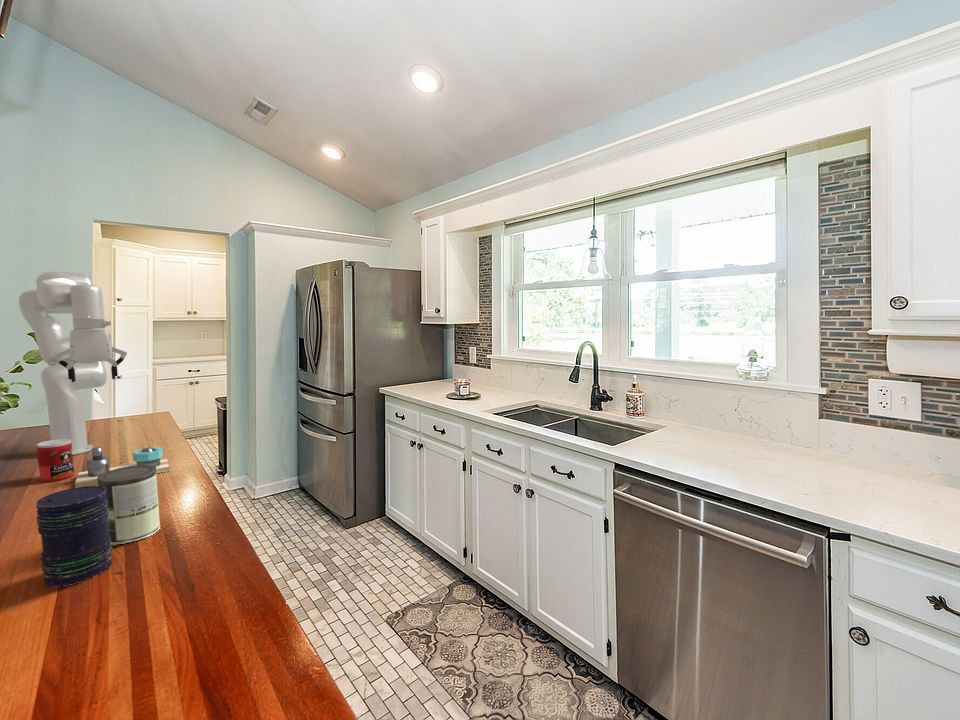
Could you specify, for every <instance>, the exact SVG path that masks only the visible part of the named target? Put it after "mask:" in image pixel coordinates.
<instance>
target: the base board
mask: <svg viewBox="0 0 960 720" xmlns="http://www.w3.org/2000/svg"><path fill="white" fill-rule="evenodd" d="M136 465H137V463H131V464H124V465H119V466H118V465H117V466H111V467H110V471H111V470H114V469H118V468H123V467H128V466H136ZM156 469H157V471H156V473H160V474H162V473H161V472H166V473H168V472H167V471H169V472H170V465H169V461H168V458H162V459H161V458H160V465H159V466H157V467H156ZM97 477H98V476H97ZM97 477H89V476H88V470H86V471H81V472H80V471H79V472H78V474H77V477H76V479H75V482H74V485H75V487H74V488H78V487H87V486H98V481H97Z"/></svg>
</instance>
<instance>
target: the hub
mask: <svg viewBox="0 0 960 720" xmlns="http://www.w3.org/2000/svg"><path fill="white" fill-rule="evenodd" d="M141 449H142V453H147V452H152V451H153V447H145V448H141ZM160 460H161V458H159V459H155V460H151V461H144V462H136V461H135V462H136V463H137V465H151V466H155V467H157V466H159V465H160ZM136 463H135V464H136Z"/></svg>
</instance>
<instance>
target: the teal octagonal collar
mask: <svg viewBox="0 0 960 720" xmlns="http://www.w3.org/2000/svg"><path fill="white" fill-rule="evenodd" d="M152 448H153V451H152V452H147V453H142V449H143V448H140V449H137V450H134V451H133V452H132V461H134V462H144V461H151V460H155V459H159V458H160V459H161V458H162V457H164V451H163V447H158V446H157V447H155V446H154V447H152Z"/></svg>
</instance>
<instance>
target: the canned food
mask: <svg viewBox="0 0 960 720" xmlns="http://www.w3.org/2000/svg"><path fill="white" fill-rule="evenodd" d="M36 454H37V455H36V456H37V464H38V473H39V480H40V481H41V482H43V483H56V482H61V481H65V480H67V479H70V477H71V478H72V477H74V476H75V464H74V455H73V451H72V442H71V440H70V439H56V440H51V439H48V440H45V441H42V442H39V443H36ZM64 479H65V480H64Z"/></svg>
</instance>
